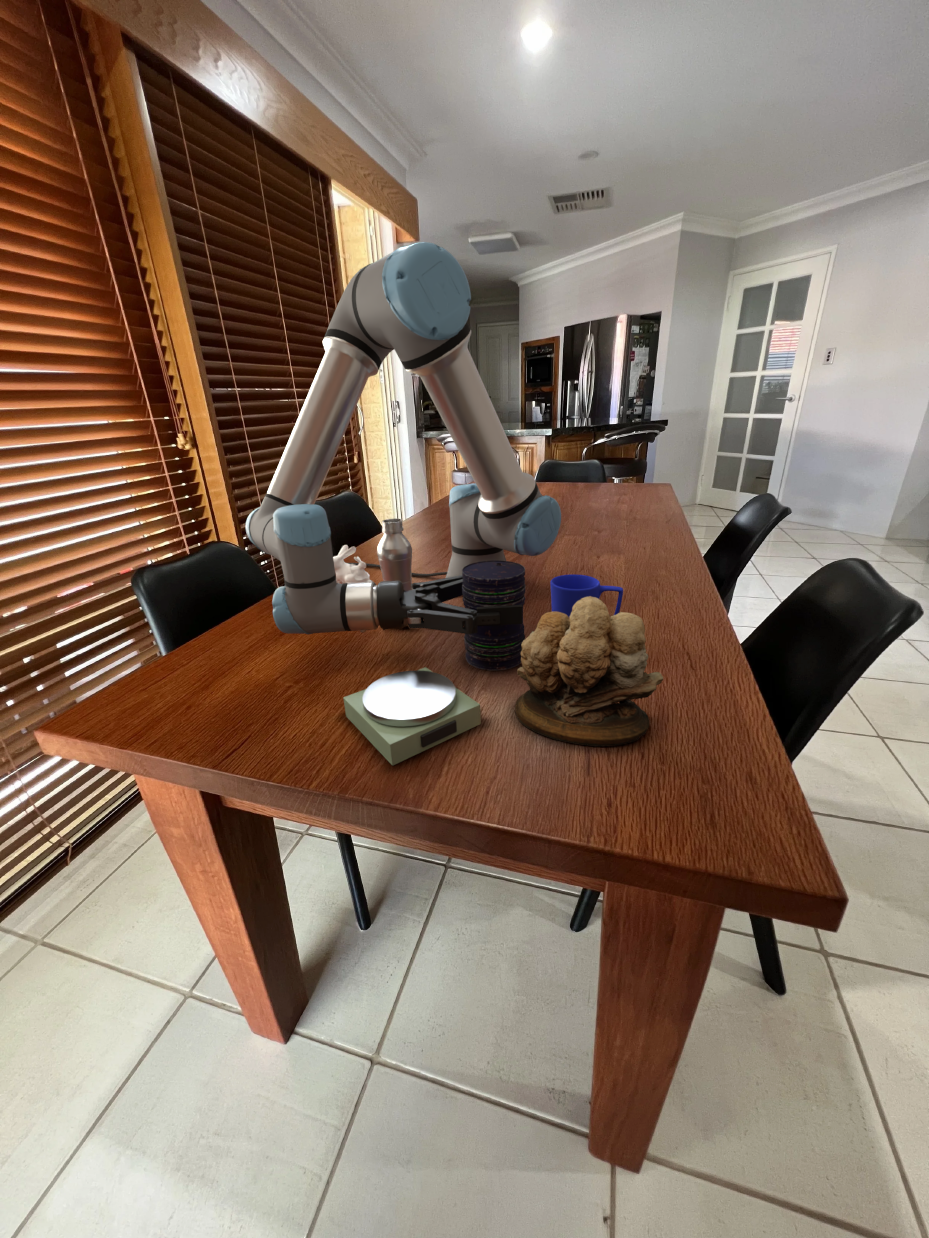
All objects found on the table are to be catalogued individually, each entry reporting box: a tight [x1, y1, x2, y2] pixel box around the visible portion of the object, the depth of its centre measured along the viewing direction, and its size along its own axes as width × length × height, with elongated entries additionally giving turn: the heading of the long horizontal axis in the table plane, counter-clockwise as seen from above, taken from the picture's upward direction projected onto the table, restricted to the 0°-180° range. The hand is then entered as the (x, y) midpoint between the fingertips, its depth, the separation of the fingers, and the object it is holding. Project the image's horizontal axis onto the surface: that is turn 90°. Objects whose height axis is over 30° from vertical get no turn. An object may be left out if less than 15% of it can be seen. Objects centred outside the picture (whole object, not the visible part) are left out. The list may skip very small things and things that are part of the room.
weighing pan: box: [362, 669, 457, 727], centre depth 64 cm, size 12×12×1 cm
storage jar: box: [462, 560, 526, 672], centre depth 79 cm, size 10×10×15 cm
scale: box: [342, 666, 482, 766], centre depth 65 cm, size 13×13×3 cm
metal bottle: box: [376, 518, 413, 627], centre depth 91 cm, size 6×7×20 cm
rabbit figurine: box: [333, 544, 374, 584], centre depth 115 cm, size 12×8×10 cm, turn 73°
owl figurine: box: [514, 596, 664, 747], centre depth 61 cm, size 18×12×17 cm, turn 72°
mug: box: [550, 574, 624, 619], centre depth 86 cm, size 8×12×10 cm
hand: (515, 598), depth 78 cm, fingers open, 12 cm apart
